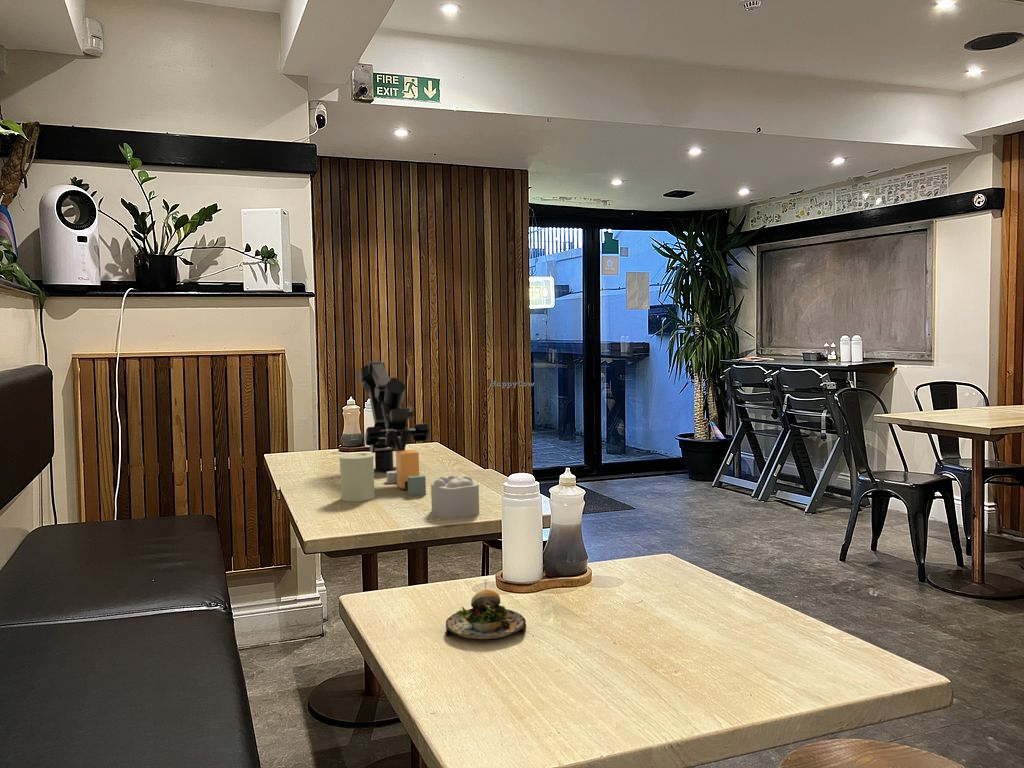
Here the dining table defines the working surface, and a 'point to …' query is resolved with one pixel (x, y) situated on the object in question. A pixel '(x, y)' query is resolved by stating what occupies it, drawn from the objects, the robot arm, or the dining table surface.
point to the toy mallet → (410, 483)
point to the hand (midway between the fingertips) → (402, 456)
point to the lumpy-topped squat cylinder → (455, 497)
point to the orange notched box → (406, 466)
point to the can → (357, 477)
